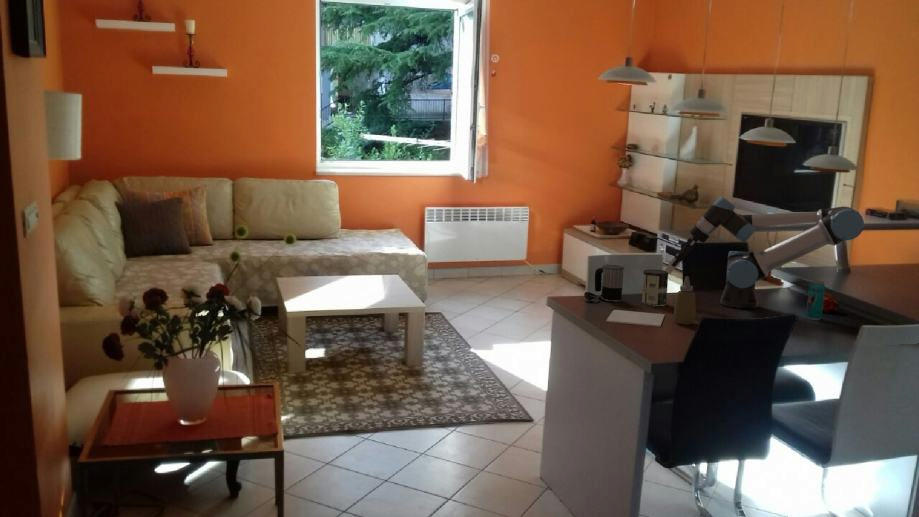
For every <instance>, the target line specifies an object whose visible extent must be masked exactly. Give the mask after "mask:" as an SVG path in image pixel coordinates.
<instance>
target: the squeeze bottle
mask: <svg viewBox="0 0 919 517" xmlns="http://www.w3.org/2000/svg"><path fill="white" fill-rule="evenodd" d="M690 282H691V281H690V277H689V276H685V278H684V282H683V285H680V286H679V289H680V290H679V291H678V292H677V293H676V298H675V303H674V308H673V315H674V319H675V323H676V324H679V325H685V326H686V325H687V326H689V325H693V322H694V321H695V317H696V316H697V313H696V312H697V311H696V310H697V309H696V293H695V292H694V291H693V290H694V287H693V285H691V283H690Z"/></svg>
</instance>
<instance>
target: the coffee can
mask: <svg viewBox="0 0 919 517" xmlns="http://www.w3.org/2000/svg"><path fill="white" fill-rule="evenodd" d="M669 275H670V274H669V273H668V272H667V271H665V269H644V270H643V278H642V279H643V280H642V298H641V304H642V303H644V304H648V305H653V306H652V307H654V306H662V307H666V306H667V304H668V303H667V300H668V299H667V297H668V280H669ZM665 305H666V306H665Z"/></svg>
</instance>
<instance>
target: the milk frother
mask: <svg viewBox="0 0 919 517" xmlns="http://www.w3.org/2000/svg"><path fill="white" fill-rule="evenodd" d="M624 270H625V266H622V265H617V264H604V265H602V266H601V267H599V268H597V269H596V270H595V271H594V291H595V293H596V292H599V293H600V292H601V294H600V297H601V296H602V297H603V298H604V299H608V300H621V299H622V300H623V282H624ZM595 293H592V292H589V291H586V292H584V294H583V295H584V296H583V297H584V298H585V299H587V300H588V301H590V300H592V299H596V298H595V297H596V296H598V295H597V294H595ZM593 296H595V297H593Z"/></svg>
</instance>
